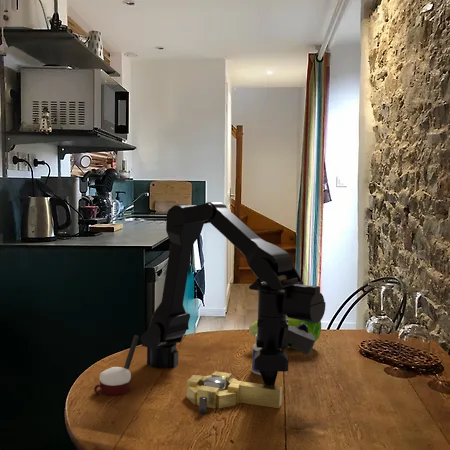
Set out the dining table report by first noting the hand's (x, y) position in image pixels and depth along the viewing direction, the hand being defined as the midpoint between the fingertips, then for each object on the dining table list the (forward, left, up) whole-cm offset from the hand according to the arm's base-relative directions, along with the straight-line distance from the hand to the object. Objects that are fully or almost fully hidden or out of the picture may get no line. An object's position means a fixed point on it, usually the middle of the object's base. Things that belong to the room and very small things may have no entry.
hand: (270, 391), depth 106 cm
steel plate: (-11, -2, -3) cm, 12 cm away
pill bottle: (-5, +16, -3) cm, 17 cm away
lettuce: (-5, +40, -3) cm, 40 cm away
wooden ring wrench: (-7, -2, -2) cm, 7 cm away
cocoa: (-31, -6, -3) cm, 32 cm away
